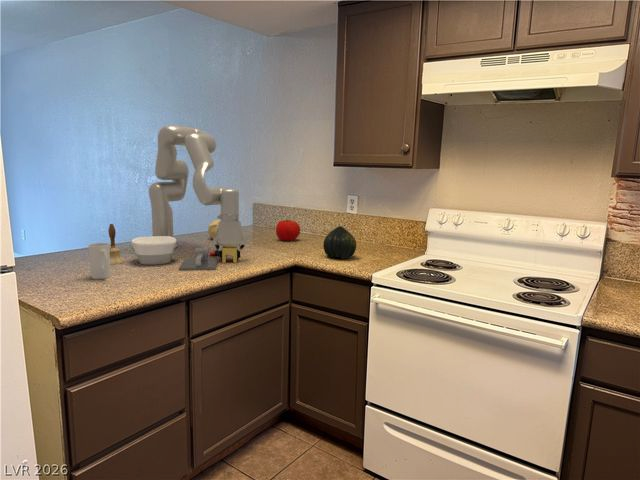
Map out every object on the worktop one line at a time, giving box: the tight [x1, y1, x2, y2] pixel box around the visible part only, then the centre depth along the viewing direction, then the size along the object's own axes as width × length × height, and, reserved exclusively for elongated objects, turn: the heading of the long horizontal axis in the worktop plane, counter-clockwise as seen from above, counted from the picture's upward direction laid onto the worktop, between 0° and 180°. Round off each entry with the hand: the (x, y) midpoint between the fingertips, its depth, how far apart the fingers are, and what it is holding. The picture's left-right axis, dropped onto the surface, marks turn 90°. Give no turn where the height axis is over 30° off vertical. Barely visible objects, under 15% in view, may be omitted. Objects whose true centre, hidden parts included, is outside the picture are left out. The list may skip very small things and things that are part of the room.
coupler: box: [178, 247, 220, 271], centre depth 184 cm, size 14×18×5 cm
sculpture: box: [207, 219, 221, 240], centre depth 244 cm, size 12×12×11 cm
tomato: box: [275, 219, 301, 242], centre depth 246 cm, size 12×13×12 cm
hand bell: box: [108, 223, 126, 265], centre depth 184 cm, size 8×8×16 cm
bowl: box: [131, 235, 178, 266], centre depth 188 cm, size 18×18×9 cm
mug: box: [88, 242, 111, 280], centre depth 160 cm, size 10×7×12 cm, turn 45°
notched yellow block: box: [221, 245, 238, 264], centre depth 193 cm, size 6×8×6 cm
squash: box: [322, 225, 357, 260], centre depth 206 cm, size 14×15×15 cm
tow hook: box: [209, 228, 220, 257], centre depth 205 cm, size 8×13×9 cm
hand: (229, 259), depth 193 cm, fingers closed on notched yellow block, 6 cm apart
